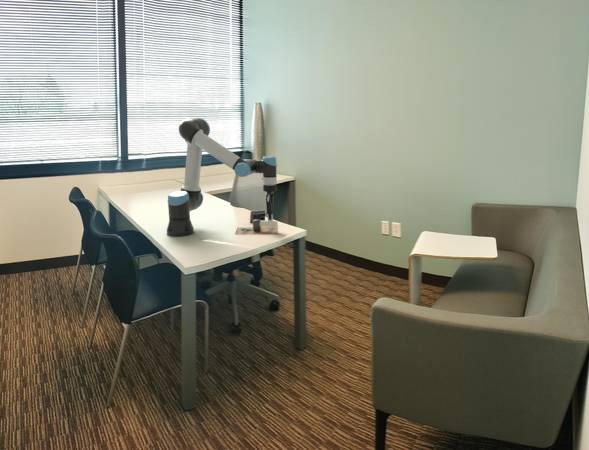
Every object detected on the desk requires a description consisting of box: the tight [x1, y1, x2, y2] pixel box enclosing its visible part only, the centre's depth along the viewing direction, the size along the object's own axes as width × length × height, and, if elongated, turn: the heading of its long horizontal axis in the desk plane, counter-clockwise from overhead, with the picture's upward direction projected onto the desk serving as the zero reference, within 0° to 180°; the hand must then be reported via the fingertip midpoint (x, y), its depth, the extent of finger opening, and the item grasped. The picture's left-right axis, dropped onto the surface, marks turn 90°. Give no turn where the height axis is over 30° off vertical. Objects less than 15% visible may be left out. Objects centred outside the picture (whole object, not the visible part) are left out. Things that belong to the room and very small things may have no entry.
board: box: [234, 226, 279, 236], centre depth 280 cm, size 24×16×2 cm, turn 92°
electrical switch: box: [249, 209, 267, 224], centre depth 298 cm, size 9×5×9 cm, turn 113°
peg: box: [241, 219, 279, 231], centre depth 279 cm, size 22×4×6 cm, turn 78°
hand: (270, 224), depth 279 cm, fingers closed
